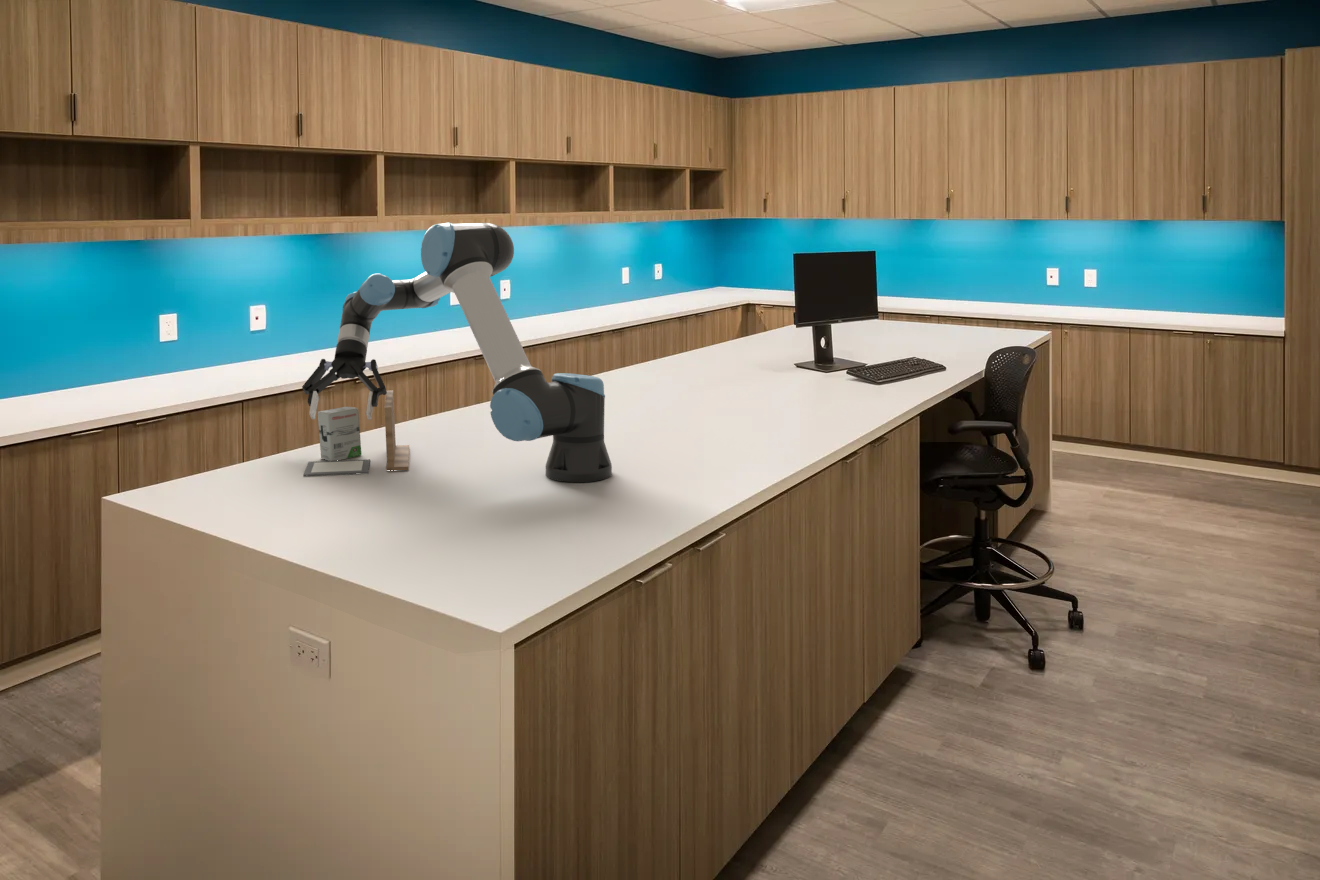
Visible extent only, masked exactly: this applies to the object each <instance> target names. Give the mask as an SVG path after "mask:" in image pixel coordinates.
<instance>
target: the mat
mask: <svg viewBox="0 0 1320 880" xmlns="http://www.w3.org/2000/svg"><path fill="white" fill-rule="evenodd" d="M306 464H307V465H306V466H305V470H304V471H303V477H316V476H315V475H323V476H341V475H340V474H347V475H357V474H356V473H368V474H369V471H368V470H370V465H371V459H370V458H369V459H368V458H367V459H366V458H365V459H342V460H338V461H328V460H319V461H308V462H307V463H306ZM369 464H370V465H369Z"/></svg>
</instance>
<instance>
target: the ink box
mask: <svg viewBox="0 0 1320 880" xmlns="http://www.w3.org/2000/svg"><path fill="white" fill-rule="evenodd" d="M317 421H318V423H317V425H318V434H319V447H320V448H319V449H320V450H319V451H320V459H321V458H322V459H321V460H324V459H325V460H324V461H328V460H329V461H337V460H338V461H339V460H341V459H342V460H347V459H351V458H354V457H355V456H356V457H360V456H362V445H361V444H362V443H361V442H362V441H361V429H360V413H359V409H358V408H357V407H354V406H342V407H336V408H330V409H326V410H318V411H317ZM359 455H360V456H359ZM346 458H347V459H346Z"/></svg>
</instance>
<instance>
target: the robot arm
mask: <svg viewBox="0 0 1320 880" xmlns="http://www.w3.org/2000/svg"><path fill="white" fill-rule="evenodd" d="M514 246H515V245H514V243H513V240H512V237H511V236H510V235H509V233H508V232H507V231H506V230H505V229H504V228H503V227H501V226H499V225H497V224H495V223H491V222H474V223H473V222H471V223H470V222H467V223H460V222H459V223H451V222H449V221H448V222H445V223H436V224H433V225H431V226H430V227H429V228H428V229H427V230H426V232H425V233H424V235H423V238H422V241H421V248H420V260H421V264H422V268H423V269H424V272H422V273H421V274H419V275H417V276H415V277H413V278H410V279H394V280H393V279H391V278H390V277H389V276H388V275H384V274H382V273H373V274H371V275H369V276H368V277H367V278H366V280H364V281H363V282H362V283H361V285H360V287H359V288H358V290H357V291H354V292H352V293H348V294H347V296H346V297H345V299H344V303H343V305H342V312H341V313H342V314H341V319H340V324H339V325H340V326H339V331H338V336H337V340H336V341H337V342H336V347H335V354H334V359H333V360H332V361H327V360H326V359H325V358H321V360H320V361H319V365H318V366H317V368H315V370H314V371H313V373H312V374H311V375H310V376H309V377H308V379H307V380H306V381H305V383H304V384H303V385H302V386H301V388H302V391H303V393H304V394H305V395H308V397H307V404H308V406H309V411H308V412H309V413H308V414H309V416H310V419H311V420H316V416H317V412H318V411H317V410H318V405H319V398H320V396H319V394H320V393H321V392H322V391H323V390H325V389H326V388H327V387H328V386H330V385H331V384H332V383H333V382H336V381H339V379H343V380H344V379H345V380H346V379H352V380H354V379H355V378H358V380H359V381H361V382H362V384H364V385H365V387H366V388H367V389H368V390H369V391H368V396H367V397H368V398H367V406H366V412H365V415H366V417H367V420H372V416H373V410H374V407H377V406H378V404H379V403H378V402H379V398H380V396H382V395H384V396H386V394H387V387H386V385H385V384H384V383H385V382H384V381H383V379H382V377H381V375H380V373H379V370H378V367H379V366H378V364H377V361H376V359H375V358H373V359H371V360H370V361H366V359H367V352H368V346H369V341H370V332H371V329H372V328H371V327H372V324H373V322H374V320H375V319H376V318H377V317H378V315H379V314H380V313H381V312H382V311H393V310H408V309H427V308H431V307H435V306H437V305H438V304H439V301H440V300H441V298H442V297H444V296H446V295H448V294H451V293H453V294H455V295H454V296H456V300H457V302H458V303H459V305H460V308H461V309H462V312H463V314H464V316H465V318H466V321H467V323H468V326H469V327H470V329H471V332H472V334H473V337H474V338H475V341H476V344H477V346H478V347H479V349H480V352H481V354H482V356H483V359H484V360H485V362H486V365H487V367H488V369H489V371H490V374H491V376H492V378H493V381H494V385H493V387H492V390H491V392H492V394H493V395H492V396H491V399H490V404H489V407H490V410H491V411H489V413H490V417H491V420H492V422H493V425H494V427H495V428H496V430H497V431H498V433H499V434H500V435H502V437H504V438H506V439H508V440H510V441H513V442H524V441H525V442H527V441H528V442H531V441H534V440H537V439H541V438H547V437H552V443H551V444H552V445H551V447H550V450H549V453H548V456H547V459H546V463H545V476H546V477H547V478H549V479H551V480H553V481H558V482H565V483H590V482H597V481H603V480H606V479H608V478H610V477H611V476H612V475H613V472H612V471H613V466H612V462H611V458H610V456H609V452H608V449H607V446H606V442H605V399H606V395H605V385H604V381H603V380H602V379H601V378H600V377H599V376H593V375H586V374H578V373H570V372H568V373H567V372H566V373H565V372H562V373H561V372H557V373H554V374H553V375H552V377H551V382H547V381H546V377H545V376H544V374H543V372H542V370H541V369H540V368H538V367H534V366H532V365H531V363H530V361H529V359H528V357H527V355H526V352H525V350H524V348H523V345H522V343H521V341H520V339H519V337H518V335H517V332H516V331H515V328H514V326H513V324H512V322H511V320H510V318H509V315H508V314H507V311H506V310H505V307H504V305H503V303H502V300H501V298H500V296H499V295H498V292H497V290H496V288H495V286H494V284H493V281H492V280H491V277H493V276H495V275H497V274H499V273H501V272H503V271H505V270H506V269H508V267H509V266H510V264H511V263H512V261H513V258H514V255H515V248H514ZM330 368H331V369H330ZM329 369H330V370H329ZM366 369H368V370H369V371H370V372H372V375H373V377H374V379H375V381H376V384H377V385H378V387H377V386H376V385H375V384H374V382H373V381H372V380H371V379H370V378H369V377H368V376H367V375H366V374H365V373H364V371H365V370H366ZM327 371H328V372H327ZM326 372H327V373H326Z"/></svg>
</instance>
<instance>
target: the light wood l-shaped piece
mask: <svg viewBox="0 0 1320 880" xmlns="http://www.w3.org/2000/svg"><path fill="white" fill-rule="evenodd" d="M386 391H387V394H386V395H385V400H384V401H385V402H384V406H383V407H384V425H385V429H384V430H385V447H386V466H385V470H390V471H391V470H393V471H391V472H395V471H394V470H410V444H400V445H399V444H397V443H396V440H397V439H396V421H395V400H394V399H395V398H394V390H393V389H392V390H391V389H390V390H387V389H386Z"/></svg>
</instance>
